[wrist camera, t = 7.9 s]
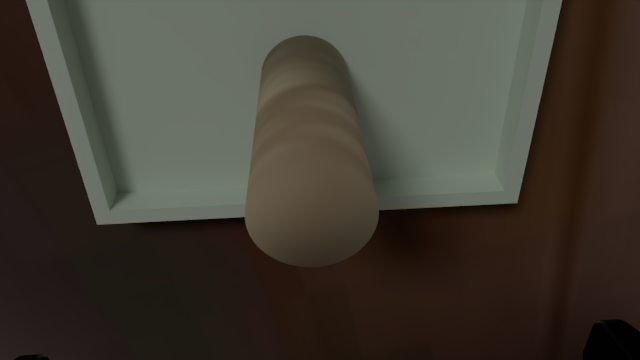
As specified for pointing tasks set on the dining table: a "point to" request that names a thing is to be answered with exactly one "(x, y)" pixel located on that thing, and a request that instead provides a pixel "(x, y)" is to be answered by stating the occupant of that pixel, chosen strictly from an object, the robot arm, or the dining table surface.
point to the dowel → (308, 159)
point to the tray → (244, 82)
